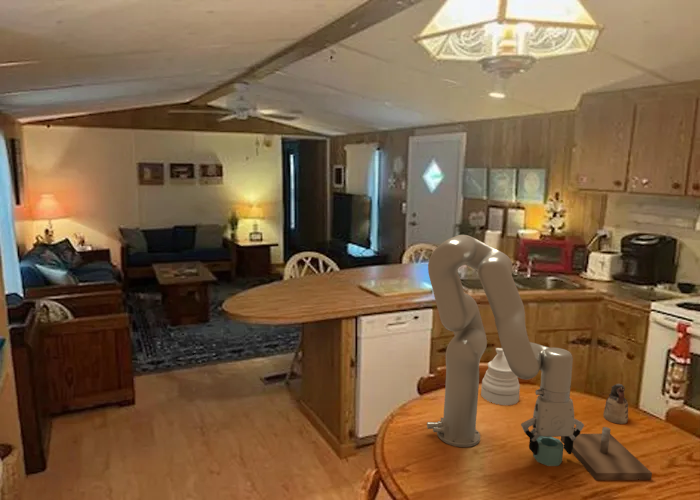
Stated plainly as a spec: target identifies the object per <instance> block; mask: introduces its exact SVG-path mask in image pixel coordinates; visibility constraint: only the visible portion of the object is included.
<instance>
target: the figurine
mask: <svg viewBox="0 0 700 500" xmlns="http://www.w3.org/2000/svg"><path fill="white" fill-rule="evenodd" d="M625 389H626V388H625V385H623V384H620V383H616V384H614V385H612V386H611V390H610V393H608V396H607V398H606V401H605V404H604V405H605V406H604V409H603V418H604V419H605V420H606V421H609V422H610V423H613V424H616V425H617V424H618V425H624V424H628V421H629V402H628V400H627V398H625Z"/></svg>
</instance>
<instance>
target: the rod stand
mask: <svg viewBox="0 0 700 500" xmlns="http://www.w3.org/2000/svg"><path fill="white" fill-rule="evenodd" d="M564 439H565V436H560V441H561V442H562V443H563V444H564ZM571 454H572V455H573V456H574V457H575V458H576V459H577V460H578V462H579V463H580V464H581V465H582V467H584V468H585V470H586V471H587V472H588V473H589V474H590V476H592V478H593V479H594V480H595V481H651V480H652V475H653V472H652V470H649V469H648V467H646V466H645V464H643V463H642V462H641V461H640V460H639V459H638V458H637V457H635V456H634V454H632V452H630V451H629V450H628V448H626V447H625V446H624V445H623V444H622V443H621V442H619V441H618V440H617V439H616V438H615V437H614V436H613V435H612V434H611V428H610V427H607V426H603V427H602V431H601V433H580V434H579V435H578V436H577V437H576V439H575V440H574V441H573V449H572V453H571ZM638 479H639V480H638ZM650 479H651V480H650Z"/></svg>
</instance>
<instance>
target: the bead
mask: <svg viewBox="0 0 700 500" xmlns="http://www.w3.org/2000/svg"><path fill="white" fill-rule="evenodd" d="M537 441H538V450H537V455H534V454H533V453H532V455H533V458H534V459H535V461H536V462H537V463H538V464H539V463H540V464H542V465H545V466H546V467H559V466H560V465H561V464H562V462H563V459H564V458H563V457H564V456H563V455H564V443H563V442H562V441H561V439H559V438H556V437H543V436H540V437H539V438H538V439H537Z"/></svg>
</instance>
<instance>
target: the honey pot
mask: <svg viewBox="0 0 700 500" xmlns="http://www.w3.org/2000/svg"><path fill="white" fill-rule="evenodd" d="M495 352H496V355H495V356H494V358H493V359H491V360H490V361H489V362H487V367H488V368H487V370H486V371H485V374H484V377H483V378H482V380H481V389H480V390H481V391H480V395H481V398H482V397H483V398H484V399H483V398H482V399H483V400H485V399H486V400H487V402H488V401H489V403H491V402H492V403H491V404H494V403H495V404H494V405H498V404H499V405H500V406H513V405H515V404H517V403H519V401H520V389H521V385H520V382H519V377H517V376H516V375H515V374H514V373H513V372H512V371H511V369H510V367H509V365H508V362H507V360H506V357H505V355H504V352H503V349H502V347H495ZM486 400H485V401H486Z"/></svg>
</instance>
